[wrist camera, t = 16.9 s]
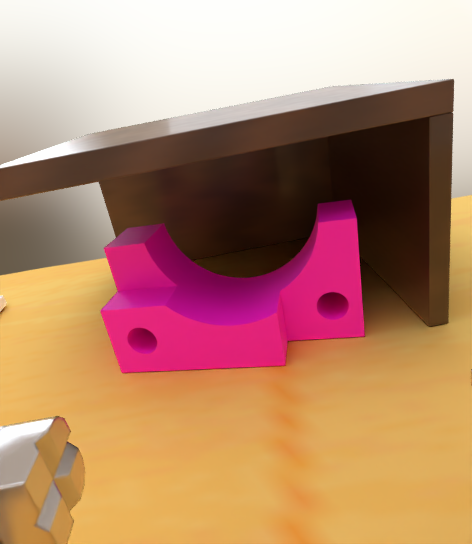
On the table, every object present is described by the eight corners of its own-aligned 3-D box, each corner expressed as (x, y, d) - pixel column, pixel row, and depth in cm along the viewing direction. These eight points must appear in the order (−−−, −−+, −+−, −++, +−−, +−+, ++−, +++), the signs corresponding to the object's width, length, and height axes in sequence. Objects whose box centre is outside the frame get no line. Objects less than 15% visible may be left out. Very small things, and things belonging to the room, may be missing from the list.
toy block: (121, 372, 27) (83, 264, 24) (155, 320, 32) (127, 227, 29) (369, 361, 23) (361, 233, 20) (358, 305, 29) (351, 199, 26)
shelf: (343, 226, 44) (332, 86, 38) (448, 323, 25) (454, 78, 20) (128, 268, 44) (87, 134, 38) (75, 396, 25) (-18, 171, 20)
